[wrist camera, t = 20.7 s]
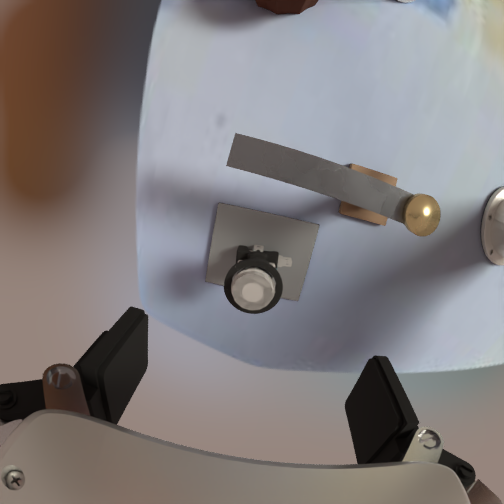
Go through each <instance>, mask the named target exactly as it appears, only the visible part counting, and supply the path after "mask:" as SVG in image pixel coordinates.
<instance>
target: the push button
mask: <svg viewBox="0 0 504 504" xmlns="http://www.w3.org/2000/svg"><path fill="white" fill-rule="evenodd" d="M258 246H259V247H258ZM263 247H264V246H262V245H254V250H252V249H248V248H247V246H243V245H239V246H238V249H237V253H236V264H235V265H234V266H232V267H231V269H230V270H229V271H228V273H227V275H226V277H225V281H224V292H225V295H226V297H227V299H228V301H229V302H230V303H231V304H232V305H233V306H234V307H235V308H237V309H238V310H240V311H243V312H246V313H252V314H257V313H262V312H265V311H268V310H270V309H271V308H273V307H274V306H275V305H276V304H277V303H278V301H279V300H280V298H281V295H282V291H283V283H282V278H281V276H280V274H279V272H278V271H277V267H282V266H287V267H291V266H292V260H291V259H292V258H289V257H283V256H281V255H279V253H278V252H277V251H263ZM286 259H288V260H286ZM286 264H288V265H286ZM236 272H237V275H236V276H235V277H234V279H233V281H232V278H233V276H234V275H235V273H236ZM273 278H274V280H275V282H276V286H275V285H274V282H273Z"/></svg>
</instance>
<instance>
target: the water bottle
mask: <svg viewBox="0 0 504 504" xmlns="http://www.w3.org/2000/svg"><path fill="white" fill-rule="evenodd" d="M397 1H400V2H404V3H410V2H413V1H415V0H397Z"/></svg>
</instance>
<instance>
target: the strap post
mask: <svg viewBox="0 0 504 504" xmlns="http://www.w3.org/2000/svg"><path fill="white" fill-rule="evenodd" d="M349 168H350V169H353V170H356V171H358V172H361V173H363V174H366V175H369V176H371V177H374V178H376V179H378V180H381V181H383V182H386V183H388V184H390V185H393V186H395V187H396V183H397V178H395V177H392V176H389V175H386V174H383V173H380V172H377V171H374V170H371V169H368V168H365V167H362V166H358V165H355V164H350V167H349ZM339 213H340V214H344V215H347V216H351V217H355V218H359V219H362V220H366V221H370V222H373V223H377V224H380V225H384V226H385V225H386V221H387V218H388V217H385V216H383V215H380V214H377V213H375V212H372V211H369V210H367V209H364V208H361V207H358V206H356V205H353V204H350V203H347V202H344V201H341V205H340V209H339Z"/></svg>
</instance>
